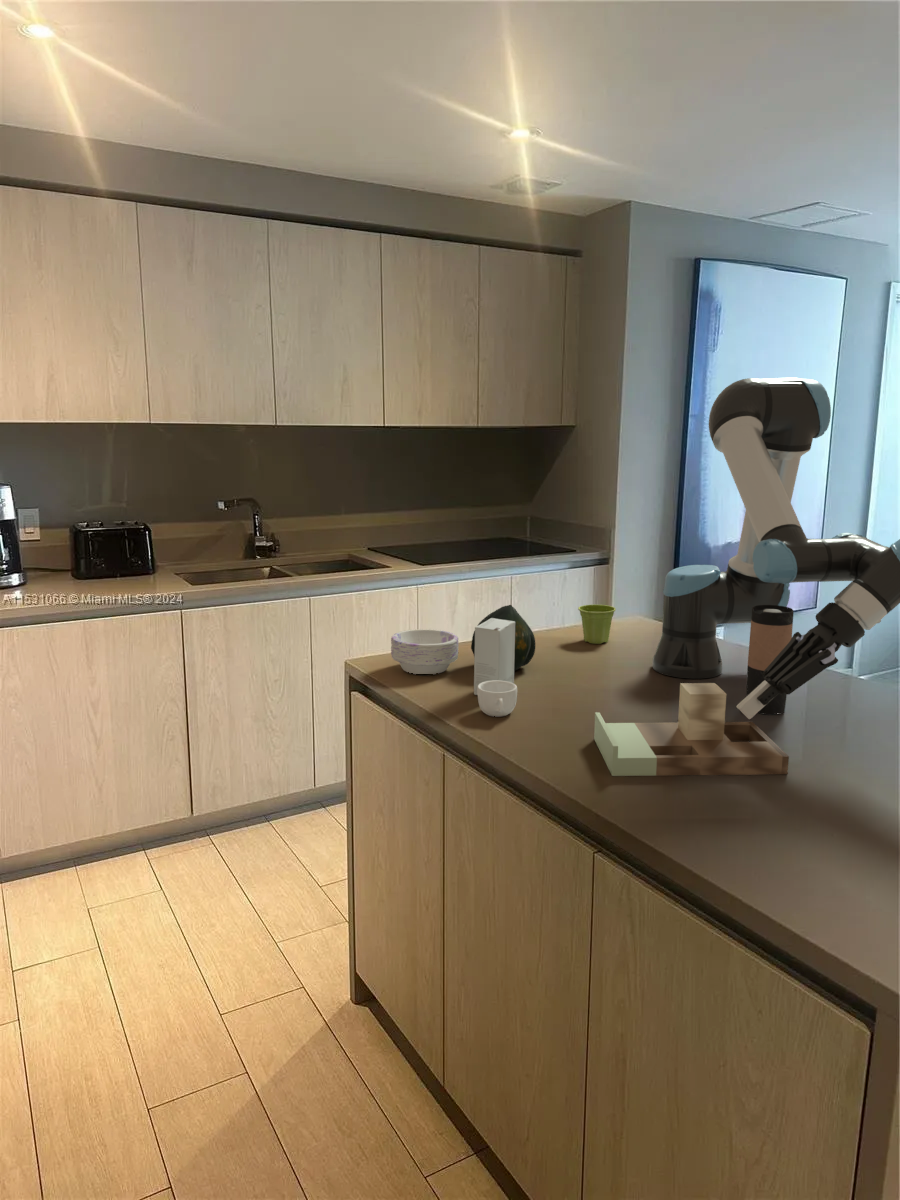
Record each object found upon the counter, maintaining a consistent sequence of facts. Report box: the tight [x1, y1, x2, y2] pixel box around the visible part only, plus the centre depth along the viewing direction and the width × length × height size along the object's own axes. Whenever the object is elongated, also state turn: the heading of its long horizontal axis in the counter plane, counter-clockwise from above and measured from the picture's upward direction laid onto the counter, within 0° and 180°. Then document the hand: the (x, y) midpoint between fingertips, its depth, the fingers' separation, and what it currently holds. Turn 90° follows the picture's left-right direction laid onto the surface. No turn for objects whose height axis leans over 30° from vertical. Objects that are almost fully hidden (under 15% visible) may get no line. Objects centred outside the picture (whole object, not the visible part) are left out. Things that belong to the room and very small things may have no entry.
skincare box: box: [473, 618, 515, 696], centre depth 177 cm, size 8×6×15 cm
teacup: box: [477, 680, 518, 718], centre depth 164 cm, size 10×8×5 cm
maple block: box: [677, 682, 727, 740], centre depth 145 cm, size 6×6×8 cm
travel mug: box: [745, 605, 794, 715], centre depth 166 cm, size 8×8×20 cm
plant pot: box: [577, 604, 616, 645], centre depth 218 cm, size 9×9×9 cm
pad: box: [593, 711, 657, 777], centre depth 144 cm, size 7×16×5 cm, turn 1°
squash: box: [470, 604, 536, 672], centre depth 195 cm, size 14×15×15 cm
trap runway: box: [634, 721, 790, 776], centre depth 144 cm, size 21×16×3 cm
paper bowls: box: [390, 628, 459, 675], centre depth 194 cm, size 15×15×8 cm
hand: (742, 712), depth 146 cm, fingers closed
